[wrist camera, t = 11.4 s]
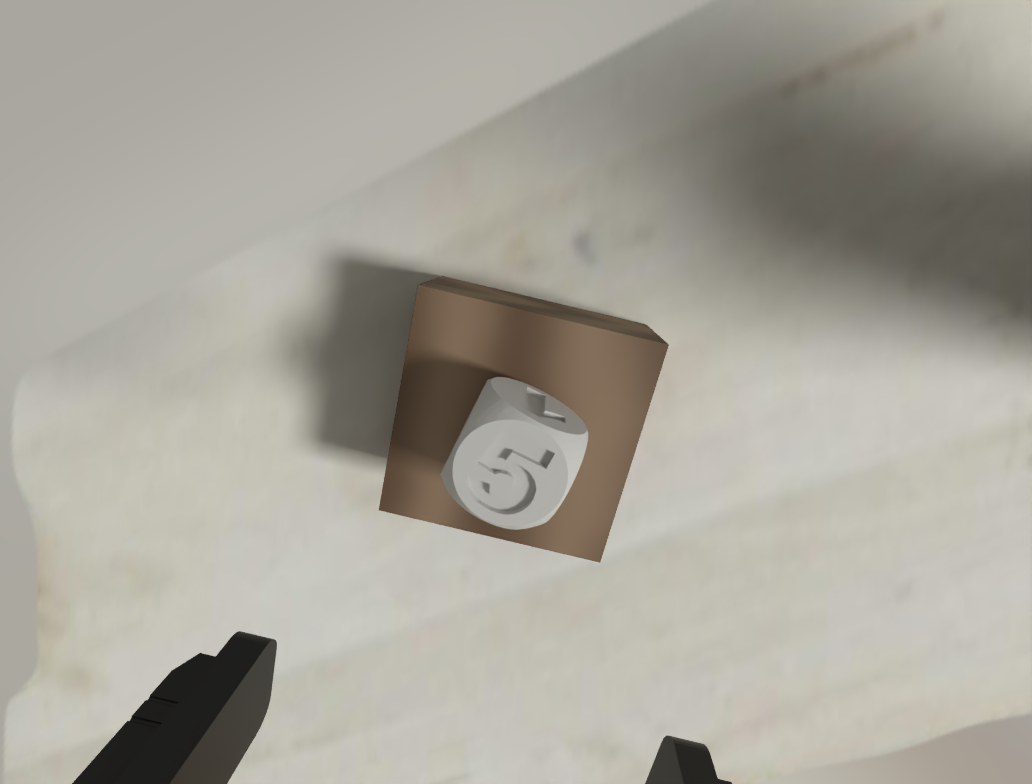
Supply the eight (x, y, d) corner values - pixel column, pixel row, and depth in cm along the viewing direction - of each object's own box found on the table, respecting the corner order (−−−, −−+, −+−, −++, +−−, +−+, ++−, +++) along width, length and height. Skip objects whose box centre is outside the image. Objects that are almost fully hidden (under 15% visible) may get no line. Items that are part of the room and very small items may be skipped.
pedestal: (646, 324, 31) (668, 344, 25) (591, 507, 34) (600, 562, 29) (442, 276, 31) (418, 284, 25) (407, 464, 34) (378, 510, 28)
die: (585, 412, 26) (593, 450, 22) (538, 494, 28) (536, 547, 23) (494, 365, 26) (481, 394, 21) (450, 451, 27) (429, 496, 22)
